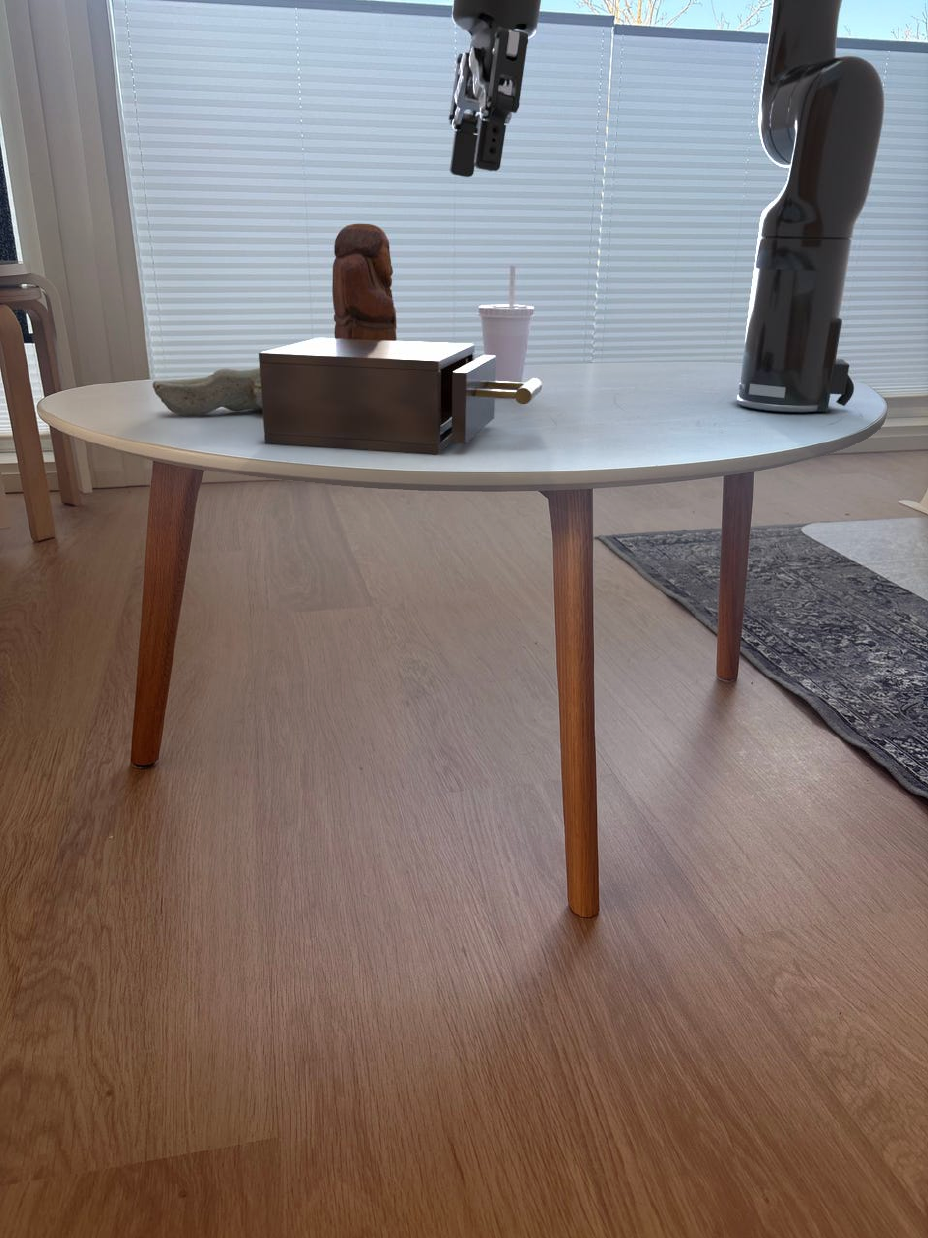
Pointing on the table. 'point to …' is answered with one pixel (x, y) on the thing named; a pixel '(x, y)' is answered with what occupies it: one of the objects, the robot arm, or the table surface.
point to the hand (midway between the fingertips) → (472, 172)
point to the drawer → (476, 396)
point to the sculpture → (212, 392)
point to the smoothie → (507, 335)
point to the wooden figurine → (363, 285)
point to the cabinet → (357, 393)
